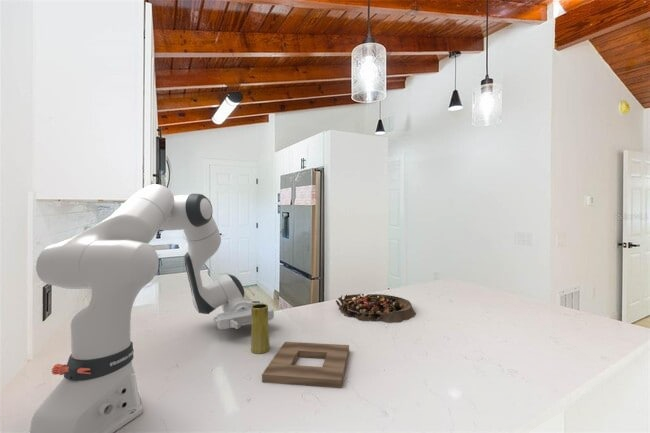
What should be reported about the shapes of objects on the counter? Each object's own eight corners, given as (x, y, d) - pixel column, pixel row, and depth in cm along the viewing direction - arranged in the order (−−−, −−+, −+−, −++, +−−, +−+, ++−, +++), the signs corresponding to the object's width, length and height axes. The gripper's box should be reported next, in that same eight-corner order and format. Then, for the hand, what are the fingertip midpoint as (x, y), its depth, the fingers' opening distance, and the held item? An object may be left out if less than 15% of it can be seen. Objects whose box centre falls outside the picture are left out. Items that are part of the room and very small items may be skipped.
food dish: (320, 312, 145) (320, 294, 145) (370, 299, 166) (370, 284, 166) (381, 331, 118) (380, 309, 118) (431, 313, 139) (430, 294, 139)
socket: (341, 387, 81) (341, 380, 81) (262, 381, 84) (261, 374, 84) (349, 351, 102) (349, 345, 102) (285, 347, 105) (284, 341, 105)
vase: (265, 354, 100) (264, 309, 100) (247, 353, 101) (246, 308, 101) (272, 346, 106) (271, 303, 106) (255, 345, 107) (254, 302, 107)
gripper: (212, 309, 117) (220, 320, 105) (265, 300, 127) (279, 309, 115) (212, 326, 117) (221, 339, 105) (266, 316, 127) (279, 326, 115)
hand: (252, 323), depth 110 cm, fingers open, 8 cm apart
